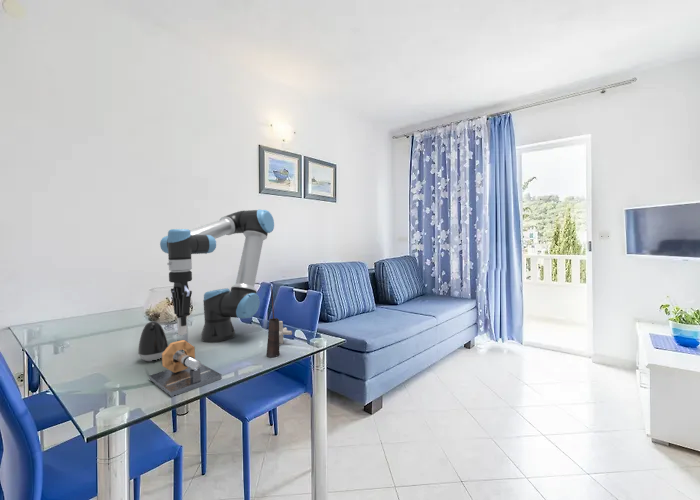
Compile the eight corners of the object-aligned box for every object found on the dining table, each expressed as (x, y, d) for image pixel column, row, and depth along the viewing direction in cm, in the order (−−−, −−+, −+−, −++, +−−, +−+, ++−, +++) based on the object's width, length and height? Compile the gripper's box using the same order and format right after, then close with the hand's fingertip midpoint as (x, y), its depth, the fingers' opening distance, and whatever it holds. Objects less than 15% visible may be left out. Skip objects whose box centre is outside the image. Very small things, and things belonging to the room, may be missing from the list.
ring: (162, 374, 109) (161, 345, 109) (192, 364, 117) (191, 337, 116) (165, 375, 108) (163, 346, 108) (195, 366, 116) (194, 338, 115)
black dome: (137, 366, 122) (135, 326, 121) (140, 357, 131) (138, 320, 130) (168, 360, 127) (166, 322, 126) (169, 352, 136) (167, 317, 135)
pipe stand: (149, 379, 110) (147, 354, 109) (196, 365, 122) (195, 342, 121) (171, 397, 97) (169, 368, 97) (221, 378, 109) (220, 353, 109)
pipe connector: (287, 347, 139) (286, 325, 138) (266, 346, 141) (265, 324, 140) (295, 340, 148) (295, 319, 148) (275, 339, 150) (275, 318, 150)
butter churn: (287, 358, 127) (285, 287, 125) (262, 361, 124) (260, 289, 123) (285, 350, 135) (283, 284, 134) (262, 353, 133) (259, 286, 131)
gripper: (162, 270, 120) (164, 333, 121) (176, 272, 112) (179, 339, 113) (183, 269, 126) (185, 329, 127) (198, 270, 117) (200, 334, 118)
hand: (182, 334), depth 120 cm, fingers closed
